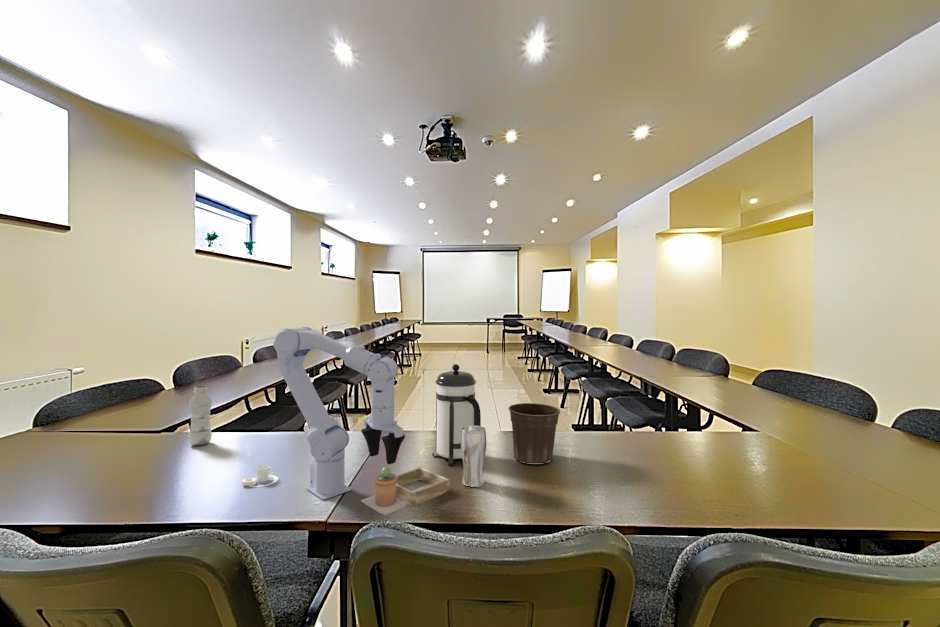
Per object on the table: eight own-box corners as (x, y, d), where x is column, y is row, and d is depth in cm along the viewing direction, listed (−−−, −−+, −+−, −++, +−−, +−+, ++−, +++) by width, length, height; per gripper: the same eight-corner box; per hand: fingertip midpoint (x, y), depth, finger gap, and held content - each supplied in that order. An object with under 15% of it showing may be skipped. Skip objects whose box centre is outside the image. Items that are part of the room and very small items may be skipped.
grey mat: (361, 501, 103) (361, 500, 103) (381, 493, 107) (381, 492, 107) (384, 516, 96) (384, 514, 96) (405, 507, 100) (405, 505, 100)
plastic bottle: (190, 442, 146) (190, 385, 145) (213, 440, 148) (213, 384, 148) (186, 448, 140) (186, 389, 139) (210, 446, 143) (210, 387, 142)
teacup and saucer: (239, 490, 110) (239, 475, 109) (247, 478, 117) (247, 464, 117) (275, 487, 112) (275, 472, 112) (281, 475, 120) (281, 461, 119)
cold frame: (384, 490, 109) (384, 479, 109) (420, 477, 118) (420, 467, 118) (413, 506, 101) (413, 494, 101) (449, 490, 109) (449, 479, 109)
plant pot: (556, 451, 141) (557, 403, 140) (562, 469, 124) (563, 416, 124) (508, 449, 142) (508, 402, 142) (507, 467, 126) (508, 414, 126)
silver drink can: (471, 475, 119) (471, 423, 119) (490, 482, 115) (491, 428, 115) (455, 483, 114) (455, 429, 114) (475, 491, 110) (475, 434, 109)
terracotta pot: (369, 502, 102) (369, 467, 102) (388, 494, 106) (388, 461, 106) (382, 509, 98) (383, 473, 98) (401, 501, 102) (402, 467, 102)
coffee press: (424, 465, 127) (424, 366, 127) (440, 447, 143) (440, 360, 142) (479, 471, 123) (480, 369, 123) (489, 452, 139) (490, 362, 138)
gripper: (413, 408, 104) (412, 462, 104) (379, 398, 114) (379, 448, 114) (389, 413, 99) (389, 470, 99) (356, 403, 109) (356, 454, 109)
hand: (382, 459), depth 106 cm, fingers open, 7 cm apart
